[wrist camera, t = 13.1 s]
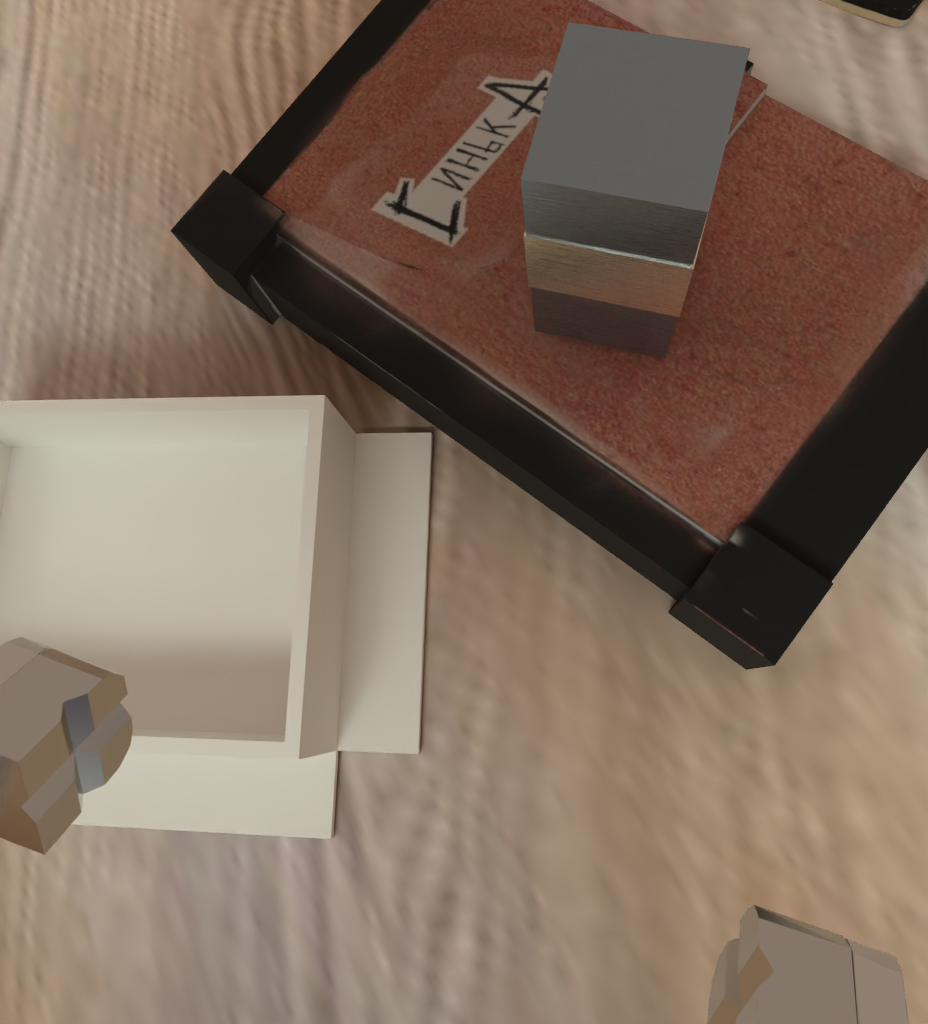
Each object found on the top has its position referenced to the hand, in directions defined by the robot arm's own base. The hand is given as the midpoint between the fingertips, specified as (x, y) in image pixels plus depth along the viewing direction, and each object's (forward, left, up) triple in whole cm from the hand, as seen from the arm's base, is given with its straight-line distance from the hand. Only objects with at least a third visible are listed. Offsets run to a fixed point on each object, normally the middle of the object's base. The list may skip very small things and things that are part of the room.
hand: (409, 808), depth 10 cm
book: (+15, +9, -21) cm, 27 cm away
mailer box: (-6, +13, -20) cm, 24 cm away
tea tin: (+14, +7, -15) cm, 22 cm away
